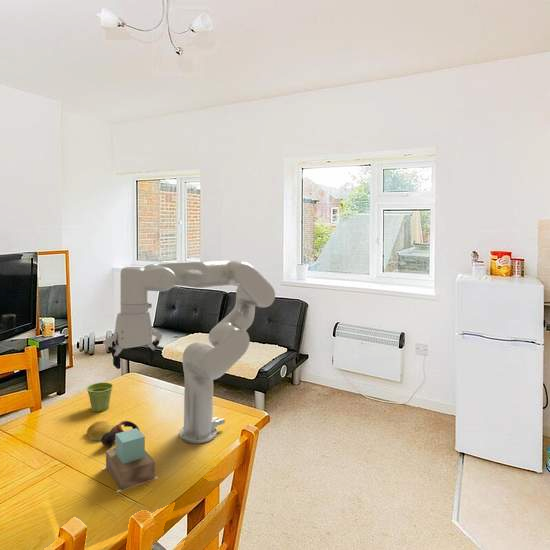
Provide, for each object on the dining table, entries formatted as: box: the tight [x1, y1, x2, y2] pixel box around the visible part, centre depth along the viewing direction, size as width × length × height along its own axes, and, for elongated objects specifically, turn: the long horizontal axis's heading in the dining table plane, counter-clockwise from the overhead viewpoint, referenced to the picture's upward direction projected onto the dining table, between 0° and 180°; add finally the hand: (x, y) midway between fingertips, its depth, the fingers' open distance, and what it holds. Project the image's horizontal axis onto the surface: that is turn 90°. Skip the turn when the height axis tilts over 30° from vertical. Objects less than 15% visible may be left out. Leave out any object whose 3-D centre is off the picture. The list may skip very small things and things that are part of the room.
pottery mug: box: [100, 420, 141, 448], centre depth 131 cm, size 12×10×8 cm
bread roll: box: [86, 420, 114, 441], centre depth 138 cm, size 8×9×4 cm
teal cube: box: [114, 428, 146, 464], centre depth 114 cm, size 6×6×6 cm
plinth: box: [105, 447, 156, 491], centre depth 114 cm, size 9×13×5 cm
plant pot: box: [86, 382, 114, 413], centre depth 157 cm, size 9×9×9 cm
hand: (133, 364), depth 124 cm, fingers open, 9 cm apart
